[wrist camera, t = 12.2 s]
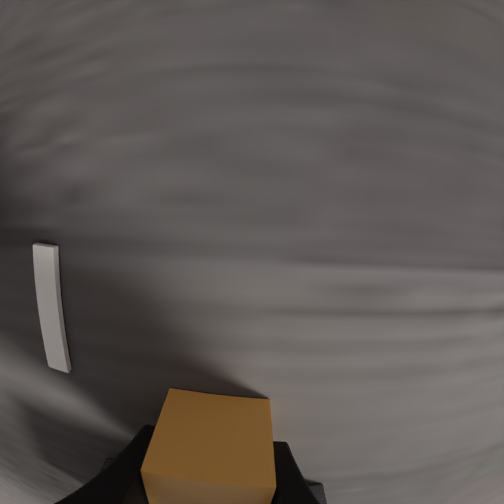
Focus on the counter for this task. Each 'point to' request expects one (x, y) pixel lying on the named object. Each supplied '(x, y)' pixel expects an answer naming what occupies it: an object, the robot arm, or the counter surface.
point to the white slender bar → (50, 305)
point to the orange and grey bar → (211, 451)
